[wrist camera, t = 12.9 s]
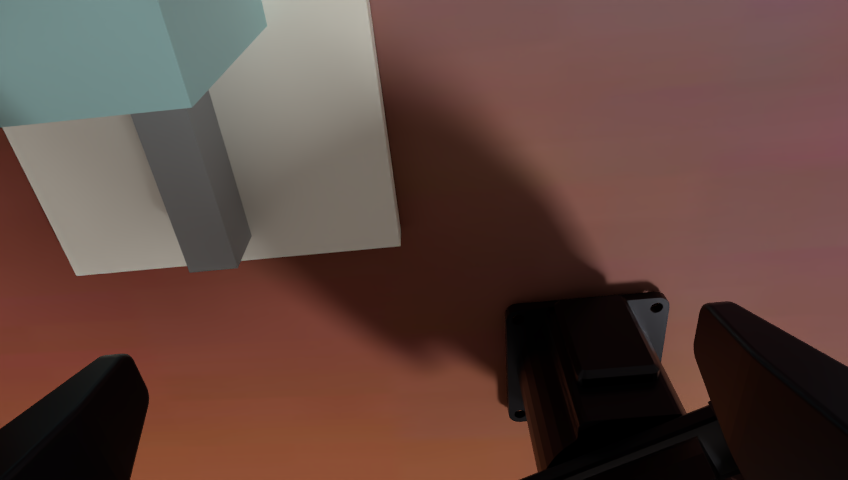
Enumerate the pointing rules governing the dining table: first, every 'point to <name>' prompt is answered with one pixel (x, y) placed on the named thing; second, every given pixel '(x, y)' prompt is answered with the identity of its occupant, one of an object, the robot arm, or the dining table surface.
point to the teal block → (116, 55)
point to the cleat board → (232, 158)
